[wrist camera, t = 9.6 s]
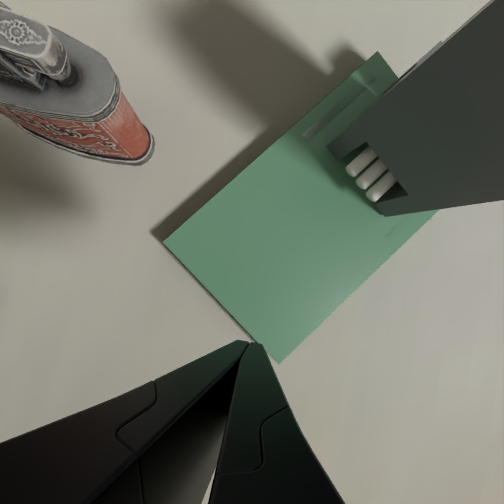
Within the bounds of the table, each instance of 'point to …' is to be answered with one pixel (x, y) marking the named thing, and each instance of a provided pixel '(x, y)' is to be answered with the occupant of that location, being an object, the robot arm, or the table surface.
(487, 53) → the plug
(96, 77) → the lighter
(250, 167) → the board
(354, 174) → the header
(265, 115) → the table surface
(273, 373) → the robot arm
